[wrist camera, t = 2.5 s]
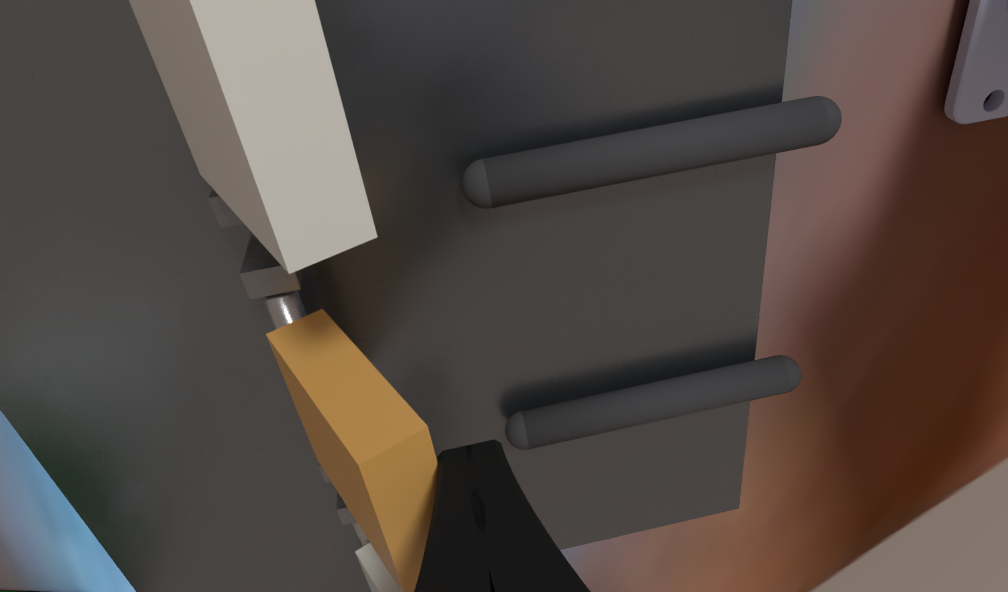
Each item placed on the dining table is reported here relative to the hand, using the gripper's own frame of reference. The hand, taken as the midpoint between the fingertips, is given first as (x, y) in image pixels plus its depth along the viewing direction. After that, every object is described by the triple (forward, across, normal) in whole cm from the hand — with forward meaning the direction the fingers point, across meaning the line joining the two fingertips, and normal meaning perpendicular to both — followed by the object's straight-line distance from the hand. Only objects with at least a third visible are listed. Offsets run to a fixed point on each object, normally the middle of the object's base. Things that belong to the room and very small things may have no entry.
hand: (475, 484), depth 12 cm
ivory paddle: (+4, +3, -7) cm, 9 cm away
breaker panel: (+6, +1, 0) cm, 6 cm away
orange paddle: (+4, +3, 0) cm, 5 cm away
